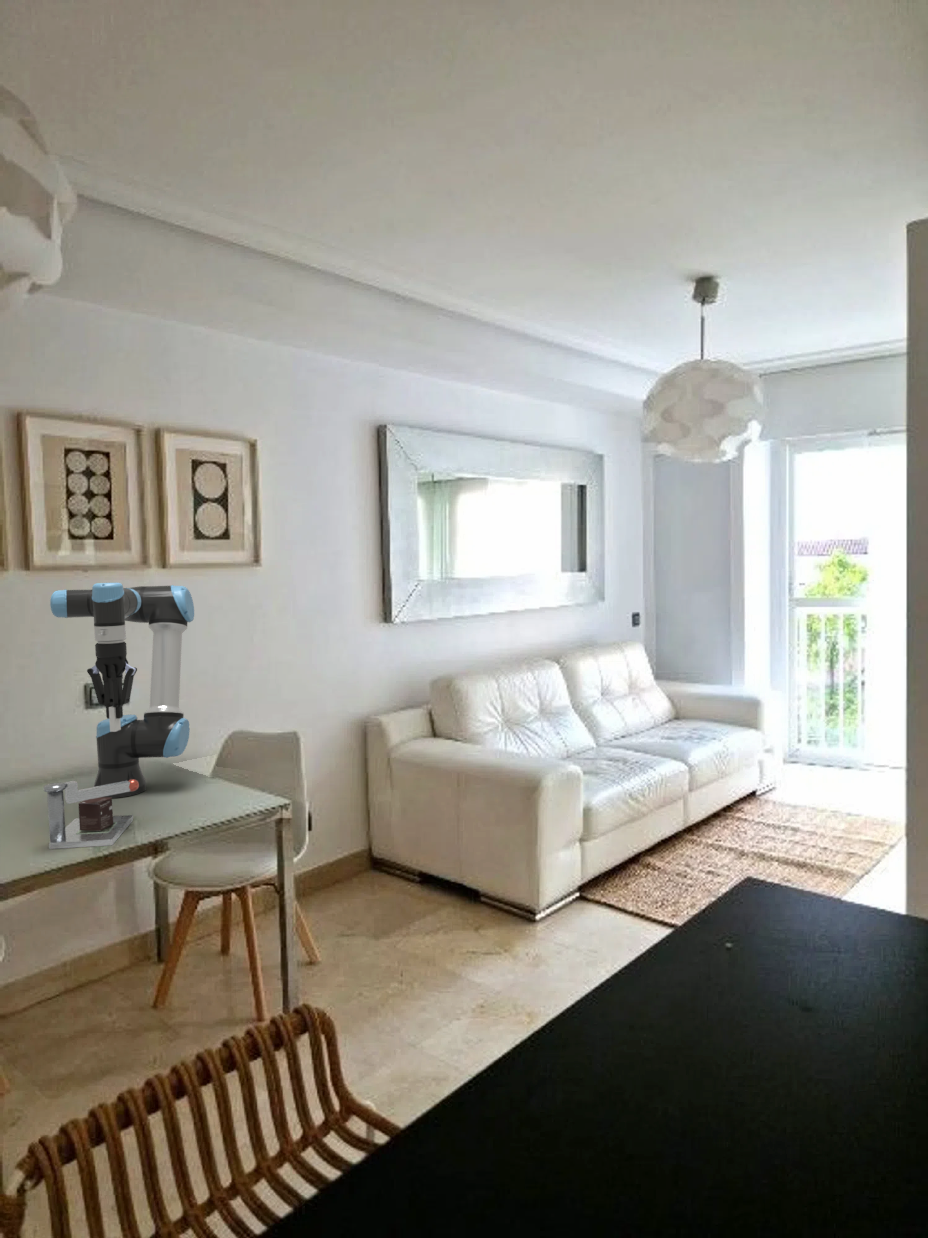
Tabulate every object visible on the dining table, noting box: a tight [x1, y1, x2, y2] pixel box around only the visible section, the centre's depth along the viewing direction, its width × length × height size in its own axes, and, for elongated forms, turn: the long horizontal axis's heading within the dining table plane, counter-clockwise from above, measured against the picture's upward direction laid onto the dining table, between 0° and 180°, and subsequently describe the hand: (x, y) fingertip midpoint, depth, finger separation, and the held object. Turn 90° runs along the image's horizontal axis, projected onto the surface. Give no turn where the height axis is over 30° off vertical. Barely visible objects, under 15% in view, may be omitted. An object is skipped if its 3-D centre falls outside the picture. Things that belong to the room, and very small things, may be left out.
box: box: [78, 797, 114, 831], centre depth 220 cm, size 6×6×7 cm
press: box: [46, 790, 134, 850], centre depth 220 cm, size 20×15×14 cm
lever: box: [43, 779, 139, 805], centre depth 217 cm, size 23×5×5 cm, turn 131°
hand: (115, 730), depth 223 cm, fingers closed
